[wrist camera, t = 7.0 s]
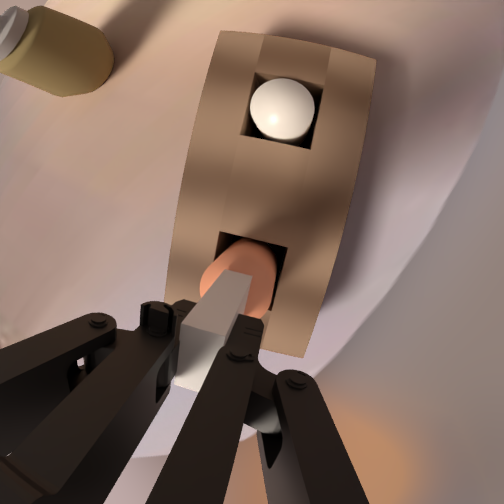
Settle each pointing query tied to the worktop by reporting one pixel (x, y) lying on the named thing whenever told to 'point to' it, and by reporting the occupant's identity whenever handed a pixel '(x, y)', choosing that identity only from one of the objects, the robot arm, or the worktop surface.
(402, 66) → the worktop surface
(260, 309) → the terracotta plug
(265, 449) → the robot arm
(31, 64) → the squeeze bottle
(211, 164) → the walnut plug block
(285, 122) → the white oval piece
